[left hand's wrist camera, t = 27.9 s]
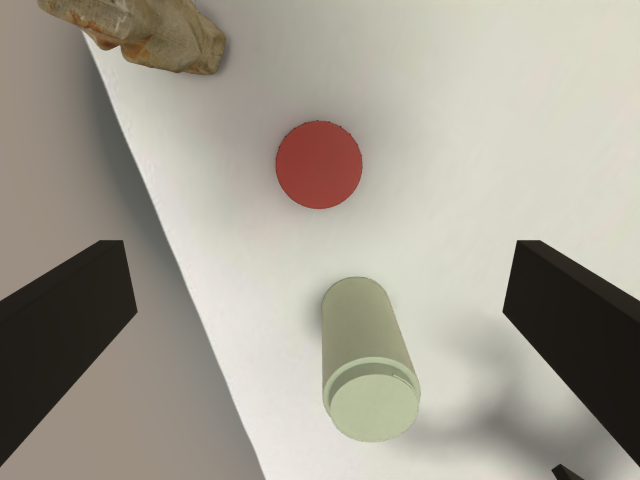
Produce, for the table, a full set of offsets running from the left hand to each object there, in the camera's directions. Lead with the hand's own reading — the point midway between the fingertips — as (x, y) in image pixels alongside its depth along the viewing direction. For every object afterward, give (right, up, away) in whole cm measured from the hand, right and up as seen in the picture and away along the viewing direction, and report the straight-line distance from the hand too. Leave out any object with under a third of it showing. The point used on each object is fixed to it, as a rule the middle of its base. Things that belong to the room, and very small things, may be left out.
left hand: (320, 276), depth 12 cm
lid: (0, +9, +23) cm, 25 cm away
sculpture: (-12, +19, +21) cm, 30 cm away
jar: (+4, -7, +30) cm, 31 cm away
